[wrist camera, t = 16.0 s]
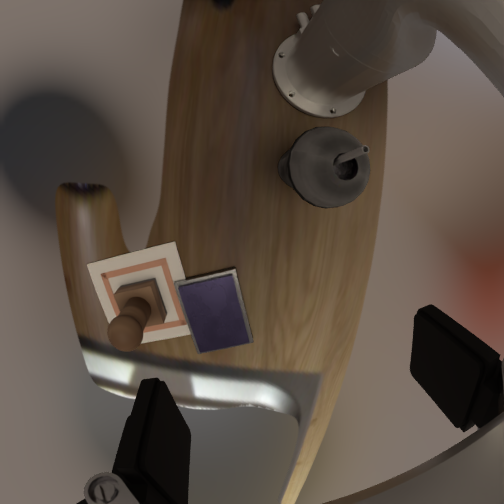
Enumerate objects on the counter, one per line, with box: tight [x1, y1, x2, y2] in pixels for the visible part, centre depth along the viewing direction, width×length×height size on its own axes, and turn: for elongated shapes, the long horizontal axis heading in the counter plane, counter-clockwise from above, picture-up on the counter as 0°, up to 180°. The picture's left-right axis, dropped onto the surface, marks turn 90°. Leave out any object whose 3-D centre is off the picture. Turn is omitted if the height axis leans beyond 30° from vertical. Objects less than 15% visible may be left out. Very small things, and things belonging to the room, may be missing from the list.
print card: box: [87, 241, 191, 343], centre depth 37 cm, size 13×13×1 cm
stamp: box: [108, 278, 167, 351], centre depth 32 cm, size 5×5×11 cm
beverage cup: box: [278, 127, 370, 208], centre depth 26 cm, size 7×7×20 cm
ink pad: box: [174, 267, 253, 354], centre depth 38 cm, size 11×8×2 cm
